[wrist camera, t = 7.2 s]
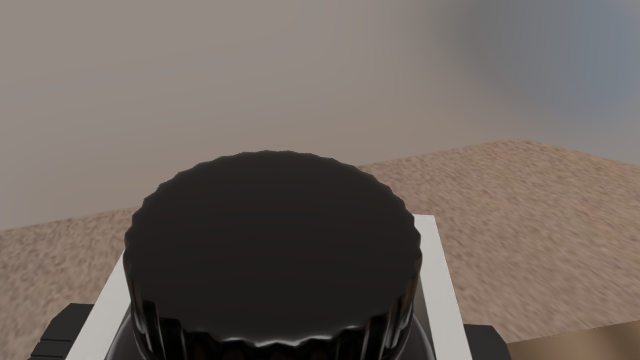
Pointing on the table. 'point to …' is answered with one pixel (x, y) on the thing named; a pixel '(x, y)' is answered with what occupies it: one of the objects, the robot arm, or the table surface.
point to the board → (583, 345)
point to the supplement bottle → (272, 265)
